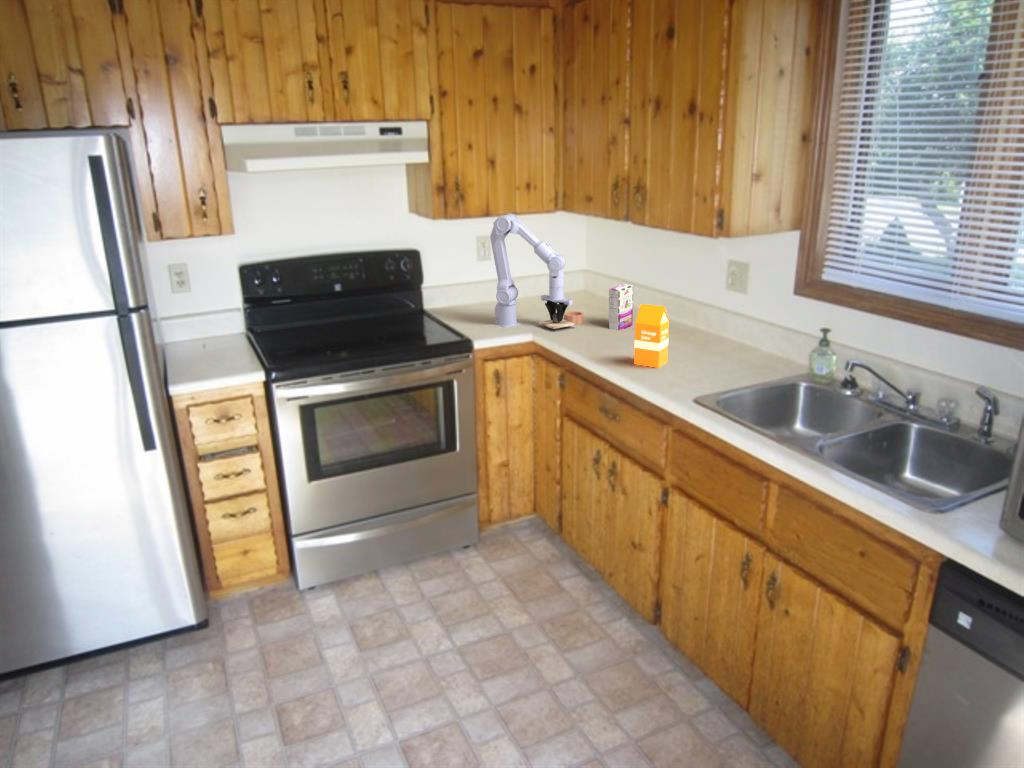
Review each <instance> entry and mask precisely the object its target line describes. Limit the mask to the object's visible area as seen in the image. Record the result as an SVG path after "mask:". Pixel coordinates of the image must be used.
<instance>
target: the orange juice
mask: <svg viewBox="0 0 1024 768" xmlns="http://www.w3.org/2000/svg"><path fill="white" fill-rule="evenodd" d="M666 308H667V307H666V306H665V305H664V306H663V305H655V304H654V305H653V304H647V303H646V304H645V303H640V305H639V308H638V312H637V317H636V320H635V324H634V325H635V328H634V329H635V330H634V354H633V355H634V358H633V361H634V362H633V365H634V364H637V365H636V366H639V365H643V366H642V367H646V366H649V367H648V368H652V367H655V368H654V369H658V368H659V367H660V368H662V365H663V366H665V365H666V364H667V363H668V354H669V353H668V352H669V334H670V333H669V331H670V330H669V329H670V320H669V317H668V312H667V309H666ZM660 368H659V369H660Z"/></svg>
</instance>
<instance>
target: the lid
mask: <svg viewBox="0 0 1024 768" xmlns="http://www.w3.org/2000/svg"><path fill="white" fill-rule="evenodd" d="M538 323H539V325H540V326H543V325H544V326H547V327H549V328H552V329H556V328H561V327H567V326H572V327H574V326H575V324H574V323H572V322H569V321H566V320H564V319H563V320H562V321H560V322H558V320H557V312H556V313H553V320H551V319H547V320H542V321H539V322H538Z"/></svg>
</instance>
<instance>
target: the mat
mask: <svg viewBox="0 0 1024 768" xmlns="http://www.w3.org/2000/svg"><path fill="white" fill-rule="evenodd" d="M538 328H540V329H543V330H546V331H548V332H550V333H557V332H562V331H567V330H572V329H576V327H575V326H567V327H561V328H556V329H552V328H549V327H547V326H544V325H539V326H538Z"/></svg>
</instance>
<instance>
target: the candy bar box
mask: <svg viewBox="0 0 1024 768" xmlns="http://www.w3.org/2000/svg"><path fill="white" fill-rule="evenodd" d="M633 301H634V285H633V284H625V283H622V284H620V285H617V286H614V287H611V288H609V290H608V307H609V308H608V329H609V330H614V331H621V330H623V329H626V328H630V327H631V326H633V321H634V320H633V319H634V318H633V317H634V315H633V313H634V312H633V308H634V307H633V305H634V304H633V303H634V302H633Z"/></svg>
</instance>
